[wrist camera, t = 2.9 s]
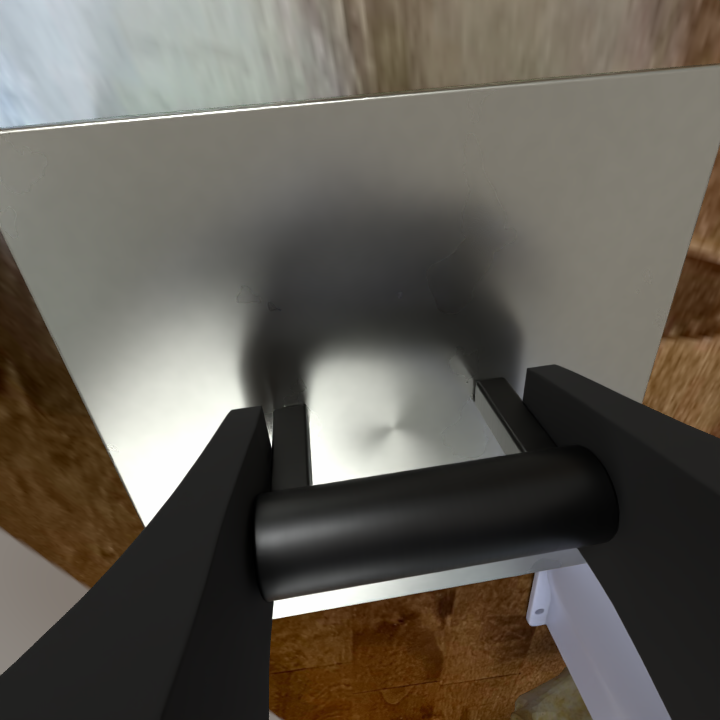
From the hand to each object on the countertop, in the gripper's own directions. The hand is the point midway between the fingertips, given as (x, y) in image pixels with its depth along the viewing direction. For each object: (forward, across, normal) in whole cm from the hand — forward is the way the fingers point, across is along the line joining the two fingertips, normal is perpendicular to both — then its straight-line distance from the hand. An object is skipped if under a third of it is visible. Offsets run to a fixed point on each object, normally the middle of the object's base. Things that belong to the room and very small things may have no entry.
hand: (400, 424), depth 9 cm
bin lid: (+1, 0, +1) cm, 2 cm away
